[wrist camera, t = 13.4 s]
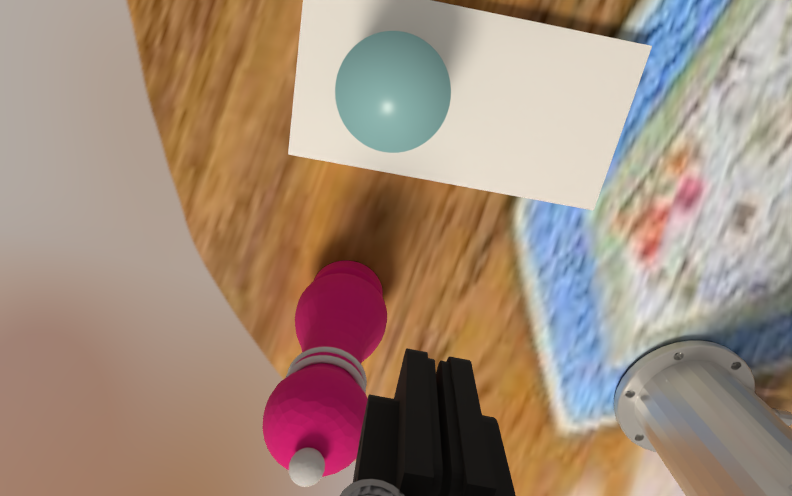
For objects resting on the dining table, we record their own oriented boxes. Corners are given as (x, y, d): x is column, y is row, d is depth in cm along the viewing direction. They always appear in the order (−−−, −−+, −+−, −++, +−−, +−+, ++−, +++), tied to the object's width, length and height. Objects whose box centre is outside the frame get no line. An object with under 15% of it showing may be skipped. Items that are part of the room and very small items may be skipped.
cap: (451, 47, 31) (463, 43, 25) (430, 145, 33) (437, 162, 28) (353, 28, 30) (343, 19, 25) (340, 129, 33) (328, 141, 27)
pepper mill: (326, 240, 39) (258, 399, 20) (402, 275, 40) (404, 456, 22) (294, 308, 41) (207, 505, 23) (367, 339, 42) (341, 551, 24)
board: (640, 47, 33) (701, 42, 27) (585, 204, 38) (626, 234, 31) (310, -22, 32) (286, -45, 25) (292, 150, 36) (268, 169, 30)
